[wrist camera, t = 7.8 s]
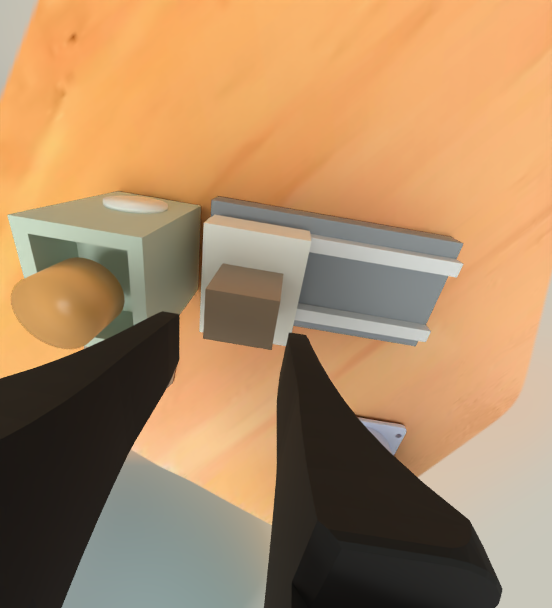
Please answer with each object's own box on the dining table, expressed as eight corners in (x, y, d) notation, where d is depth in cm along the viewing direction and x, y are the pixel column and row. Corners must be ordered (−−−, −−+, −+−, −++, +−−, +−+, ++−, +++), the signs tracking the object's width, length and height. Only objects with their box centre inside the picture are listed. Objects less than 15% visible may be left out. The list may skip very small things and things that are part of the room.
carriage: (289, 327, 18) (287, 384, 14) (209, 313, 18) (180, 366, 13) (309, 231, 15) (315, 263, 11) (214, 214, 15) (180, 239, 11)
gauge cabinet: (198, 289, 20) (148, 356, 13) (125, 277, 20) (40, 338, 13) (200, 202, 17) (141, 232, 11) (117, 187, 17) (5, 209, 11)
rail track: (408, 333, 21) (420, 353, 19) (211, 300, 20) (202, 317, 18) (450, 236, 17) (471, 247, 15) (218, 196, 17) (207, 202, 15)
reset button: (127, 327, 13) (100, 354, 11) (60, 316, 13) (22, 341, 11) (121, 264, 12) (89, 284, 10) (45, 251, 12) (0, 269, 10)
